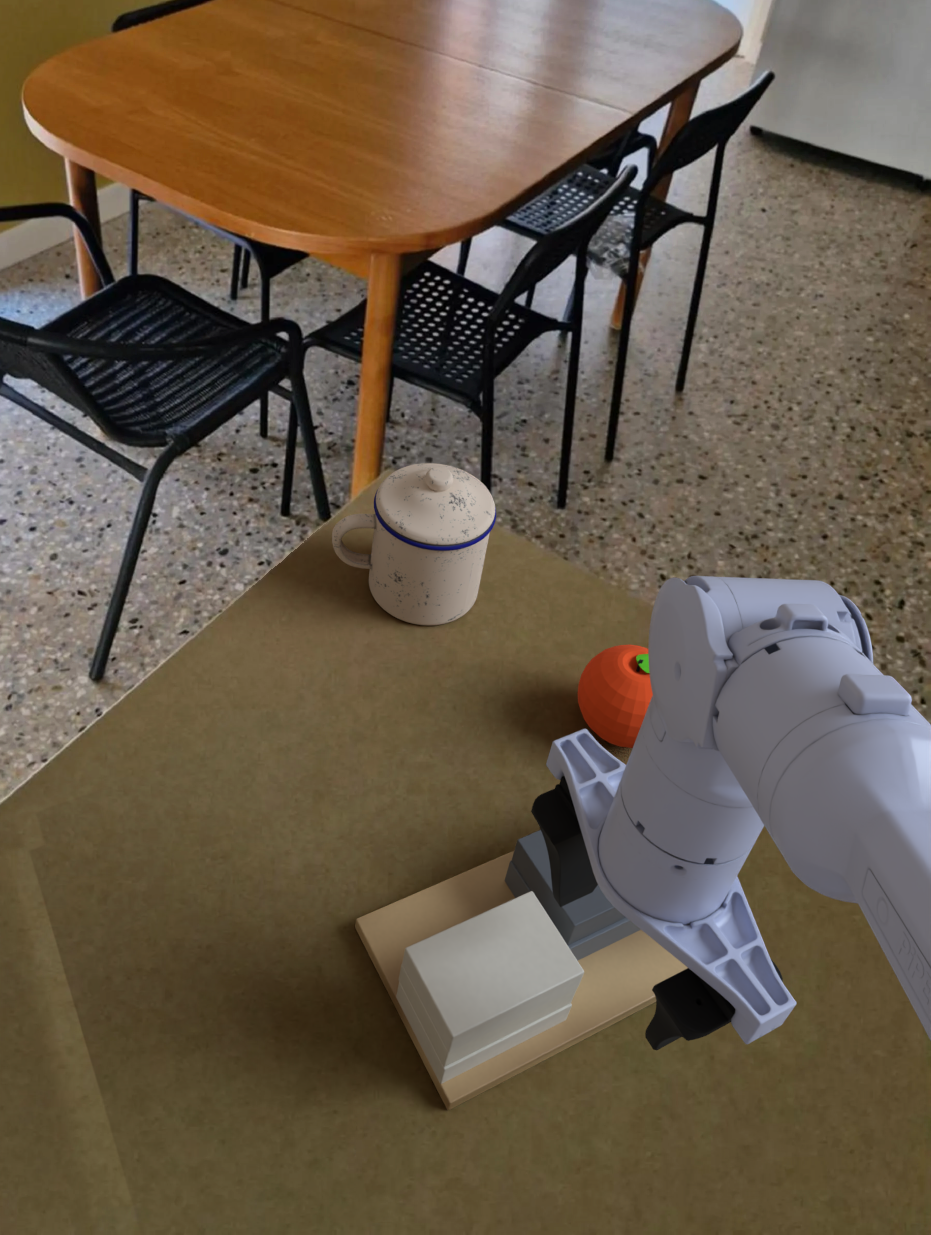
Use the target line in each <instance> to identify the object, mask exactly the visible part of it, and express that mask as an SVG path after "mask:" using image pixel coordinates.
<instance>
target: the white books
mask: <svg viewBox="0 0 931 1235" xmlns="http://www.w3.org/2000/svg"><path fill="white" fill-rule="evenodd" d="M576 990H577V989H575V990H573V991H571V992H569V993H567V994H565V995H563V996H561V997H559V998H557V999H555V1000H553V1001H551V1002H549V1003H547V1004H545V1005H543V1006H541V1007H539V1008H537V1009H535V1010H533V1011H531V1012H529V1013H527V1014H525V1015H523V1016H521V1017H519V1018H517V1019H515V1020H513V1021H511V1022H509V1023H507V1024H505V1025H503V1026H501V1027H499V1028H497V1029H495V1030H493V1031H491V1032H489V1033H487V1034H485V1035H483V1036H481V1037H479V1038H477V1039H475V1040H473V1041H471V1042H469V1043H467V1044H465V1045H463V1046H461V1047H459V1048H457V1049H455V1050H453V1051H451V1052H448V1051H447V1049H446V1047H445V1045H444V1043H443V1042H442V1040H441V1038H440V1036H439V1034H438V1032H437V1030H436V1028H435V1026H434V1024H433V1023H432V1021H431V1019H430V1017H429V1015H428V1013H427V1011H426V1009H425V1007H424V1005H423V1003H422V1002H421V1000H420V998H419V996H418V994H417V992H416V990H415V988H414V986H413V984H412V983H411V981H410V979H409V977H408V975H407V973H406V971H405V969H404V967H403V965H401V970H400V975H399V985H398V990H397V995H396V998H397V1000H398V1002H399V1004H400V1006H401V1008H402V1010H403V1012H404V1014H405V1016H406V1018H407V1020H408V1021H409V1023H410V1025H411V1027H412V1029H413V1031H414V1033H415V1035H416V1037H417V1039H418V1041H419V1043H420V1045H421V1047H422V1049H423V1051H424V1053H425V1055H426V1057H427V1059H428V1061H429V1063H430V1065H431V1067H432V1069H433V1071H434V1073H435V1074H436V1076H437V1078H438V1080H439V1082H440V1084H442V1083H444V1082H446V1081H448V1080H450V1079H452V1078H454V1077H456V1076H458V1075H460V1074H462V1073H464V1072H465V1071H467V1070H469V1069H471V1068H473V1067H475V1066H477V1065H479V1064H481V1063H483V1062H485V1061H487V1060H489V1059H491V1058H493V1057H495V1056H497V1055H499V1054H501V1053H503V1052H505V1051H506V1050H508V1049H510V1048H512V1047H514V1046H516V1045H518V1044H520V1043H522V1042H524V1041H526V1040H528V1039H530V1038H532V1037H534V1036H536V1035H538V1034H540V1033H542V1032H544V1031H546V1030H548V1029H549V1028H551V1027H553V1026H555V1025H557V1024H559V1023H561V1022H563V1021H565V1020H566V1019H567V1016H568V1014H569V1011H570V1009H571V1006H572V1004H571V1002H572V999H573V997H574V994H575V992H576Z"/></svg>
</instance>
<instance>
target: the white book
mask: <svg viewBox="0 0 931 1235" xmlns="http://www.w3.org/2000/svg"><path fill="white" fill-rule="evenodd" d="M402 965H403V967H404V969H405V971H406V973H407V975H408V977H409V979H410V981H411V983H412V984H413V986H414V988H415V990H416V992H417V994H418V996H419V998H420V1000H421V1002H422V1003H423V1005H424V1007H425V1009H426V1011H427V1013H428V1015H429V1017H430V1019H431V1021H432V1023H433V1024H434V1026H435V1028H436V1030H437V1032H438V1034H439V1036H440V1038H441V1040H442V1042H443V1043H444V1045H445V1047H446V1049H447V1051H448V1052H451V1051H453V1050H455V1049H457V1048H459V1047H461V1046H463V1045H465V1044H467V1043H469V1042H471V1041H473V1040H475V1039H477V1038H479V1037H481V1036H483V1035H485V1034H487V1033H489V1032H491V1031H493V1030H495V1029H497V1028H499V1027H501V1026H503V1025H505V1024H507V1023H509V1022H511V1021H513V1020H515V1019H517V1018H519V1017H521V1016H523V1015H525V1014H527V1013H529V1012H531V1011H533V1010H535V1009H537V1008H539V1007H541V1006H543V1005H545V1004H547V1003H549V1002H551V1001H553V1000H555V999H557V998H559V997H561V996H563V995H565V994H567V993H569V992H571V991H573V990H575V989H577V988H578V986H579V984H580V982H581V979H582V977H583V974H584V970H583V969H582V967H581V965H580V964H579V962H578V961H577V959H576V958H575V956H574V955H573V953H572V952H571V950H570V948H569V947H568V945H567V944H566V942H565V941H564V939H563V938H562V936H561V935H560V933H559V931H558V930H557V928H556V927H555V925H554V924H553V922H552V921H551V919H550V917H549V916H548V914H547V913H546V911H545V910H544V908H543V907H542V905H541V904H540V902H539V900H538V899H537V897H536V896H535V894H534V893H533V891H530V892H528V893H526V894H524V895H521V896H519V897H517V898H515V899H513V900H510V901H508V902H506V903H504V904H501V905H499V906H497V907H495V908H493V909H490V910H488V911H486V912H484V913H482V914H479V915H477V916H475V917H473V918H471V919H468V920H466V921H464V922H462V923H459V924H457V925H455V926H453V927H451V928H448V929H446V930H444V931H442V932H440V933H437V934H435V935H433V936H431V937H428V938H426V939H424V940H422V941H420V942H417V943H415V944H413V945H411V946H409V947H406V948H405V952H404V957H403V962H402Z"/></svg>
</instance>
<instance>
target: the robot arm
mask: <svg viewBox="0 0 931 1235" xmlns="http://www.w3.org/2000/svg"><path fill="white" fill-rule="evenodd" d="M647 648H648V657H649V673H650V682H651V688H652V693H653V696H652V698H651V701H650V703H649V706H648V709H647V711H646V714H645V717H644V720H643V722H642V725H641V728H640V730H639V733H638V735H637V738H636V741H635V743H634V746H633V748H631V752H630V753H629V757H628V760H627V762H626V764H625V763H624V762H623V761H621V760H620V759H618V758H617V757H616V756H615V755H613V754H612V753H611V752H609V750H607V749H606V748H605V747H604V746H602V744H600V743H599V741H598V740H596V738H595V737H594V736H593V734H592V733H591V732H590V731H589V730H588V729H587V728H582V729H579V730H577V731H575V732H572V733H570V734H567V735H564V736H562V737H560V738H557V739H554V740H553V741H552V743H551V747H550V749H549V753H548V755H547V756H548V757H547V759H546V762H545V763H546V764H545V766H546V767H547V769H548V770H549V772H550V773H551V774H552V776H553V778H555V779H556V780H558V781H559V783H557V784H556V785H554V788H552V789H550V790H548V791H546V792H543V793H541V794H539V795H537V797H535V799H534V801H533V803H532V806H531V810H530V813H531V815H532V816H533V817H534V819H535V822H536V823H537V826H538V827H539V830H541V832H542V834H543V837H544V840H545V843H546V847H547V851H548V855H549V862H550V869H551V880H552V890H553V896H554V898H555V900H556V901H557V903H558V904H559V906H560V907H562V906H564V905H566V904H569V903H571V902H573V901H575V900H577V899H579V898H581V897H584V896H586V895H588V894H590V893H592V892H593V891H594V889H595V888H596V887H597V885H599V887H600V889H601V891H602V892H603V894H604V895H605V896H606V898H607V899H608V900H609V902H610V903H611V904H612V905H613V906H614V907H615V908H616V909H617V910H618V911H619V912H620V913H621V914H623V915H624V916H625V917H626V918H628V919H629V920H630V921H631V922H632V923H634V924H635V925H636V926H637V927H639V928H640V929H641V930H642V931H644V932H645V933H646V934H647V935H648V936H650V937H651V938H652V939H653V940H655V941H656V942H657V943H658V944H660V945H661V946H662V947H663V948H664V949H666V950H667V951H668V952H669V953H671V954H672V955H673V956H674V957H676V958H677V959H678V960H679V961H680V962H682V963H683V964H684V965H685V966H687V967H688V968H687V969H685V970H683V971H681V972H679V973H677V974H675V975H674V976H672V977H670V978H668V979H666V980H664V981H662V982H660V983H658V984H656V985H655V986H654V987H653V989H652V991H653V992H654V994H655V996H656V1002H655V1011H654V1015H653V1017H652V1018H651V1021H650V1022H649V1024H648V1025H647V1027H646V1029H645V1032H644V1035H645V1036H644V1038H645V1039H646V1040H647V1042H648V1044H649V1046H650V1047H651V1048H652V1050H654V1051H659V1050H661V1049H662V1048H664V1047H666V1046H668V1045H669V1044H671V1043H673V1042H676V1041H677V1040H679V1039H681V1038H682V1039H684V1040H685V1041H687V1042H690V1041H694V1040H698V1039H701V1038H704V1037H707V1036H708V1035H710V1034H712V1033H714V1032H716V1031H718V1030H719V1029H721V1028H723V1027H725V1026H726V1025H728V1024H731V1026H732V1027H733V1029H734V1030H735V1032H736V1033H737V1034H738V1036H739V1038H740V1039H741V1040H742V1041H743V1043H744V1044H745V1045H749V1044H751V1043H752V1042H754V1041H756V1040H758V1039H760V1038H762V1037H763V1036H765V1035H767V1034H769V1033H770V1032H773V1031H774V1030H775V1029H778V1028H779V1027H781V1026H782V1025H783V1024H784V1023H785V1021H786V1020H787V1018H788V1017H789V1015H790V1014H791V1012H792V1011H793V1010H794V1008H795V1007H796V1006H797V1001H796V999H794V997H793V995H792V994H791V992H790V991H789V990H788V988H787V987H786V985H785V984H784V980H783V979H784V978H783V975H782V972H781V970H780V969H779V967H778V966H777V964H776V963H775V961H773V959H772V958H771V957H770V954H769V952H768V949H767V947H766V944H765V942H764V939H763V937H762V934H761V932H760V929H759V927H758V924H757V921H756V919H755V917H754V914H753V912H752V909H751V906H750V904H749V902H748V899H747V897H746V894H745V892H744V889H743V887H742V884H741V881H740V879H739V876H738V875H739V873H740V871H741V870H742V868H743V866H744V864H745V862H746V860H747V859H748V857H749V855H750V853H751V851H752V849H753V847H754V846H755V844H756V842H757V840H758V838H759V836H760V834H761V833H762V831H763V829H764V828H765V829H766V831H767V832H768V835H769V836H770V838H771V840H772V841H773V843H774V844H775V846H776V847H777V850H778V851H779V853H780V854H781V855H782V857H783V859H784V861H785V862H786V864H787V865H788V867H789V869H790V871H791V872H792V873H793V874H794V875H795V877H796V878H798V880H800V881H801V883H803V884H804V885H805V886H807V887H808V888H809V889H810V890H812V891H814V892H816V893H818V894H820V895H822V896H825V897H827V898H830V899H833V900H837V901H839V902H845V903H853V904H858V906H859V909H860V910H861V913H862V914H863V916H864V918H865V919H866V921H867V923H868V925H869V927H870V929H871V931H872V933H873V935H874V937H875V938H876V940H877V942H878V944H879V946H880V949H881V950H882V952H883V954H884V956H885V957H886V960H887V961H888V963H889V966H890V967H891V969H892V970H893V972H894V974H895V976H896V978H897V980H898V982H899V984H900V986H901V987H902V989H903V991H904V993H905V995H906V997H907V999H908V1001H909V1003H910V1005H911V1007H912V1009H913V1010H914V1012H915V1014H916V1016H917V1018H918V1020H919V1022H920V1024H921V1026H922V1027H923V1029H924V1031H925V1033H926V1035H927V1037H928V1039H929V1040H930V1042H931V723H930V722H929V721H928V720H927V719H926V718H925V717H924V716H923V715H922V714H921V713H920V712H919V710H918V709H916V707H914V705H913V704H912V701H913V698H912V695H911V694H910V693H909V692H908V691H907V690H906V689H905V688H904V687H903V686H902V685H901V684H900V683H899V682H898V681H897V680H896V679H895V677H893V676H892V675H888V674H887V675H885V674H884V673H882V672H881V670H879V668H878V667H876V666H875V664H874V654H873V645H872V639H871V635H870V631H869V628H868V626H867V623H866V620H865V618H864V617H863V614H862V613H861V610H860V609H859V607H858V606H857V605H856V603H854V602H853V601H852V600H851V599H850V598H848V597H847V596H844V595H841V594H839V593H838V592H837V590H836V589H835V588H834V587H832V586H831V585H830V584H829V583H828V582H825V581H822V580H818V579H791V578H765V577H764V578H761V577H740V576H739V577H738V576H737V577H733V576H711V575H691V576H688V577H687V578H686V579H684V580H683V579H682V578H680V577H673V576H672V577H669V578H668V579H667V580H665V582H663V584H662V585H661V587H660V588H659V590H658V592H657V594H656V597H655V600H654V603H653V607H652V612H651V618H650V622H649V631H648V645H647Z"/></svg>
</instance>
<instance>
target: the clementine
mask: <svg viewBox="0 0 931 1235" xmlns="http://www.w3.org/2000/svg"><path fill="white" fill-rule="evenodd" d="M652 696H653V693H652V688H651V682H650V673H649V657H648V647H644V646H641V645H636V644H619V645H614V646H611V647H608V648H605V649H602V651H600V652H599V653H597V654H595V655H594V657H592V658H590V660H589V661H588V663H587V664H586V665H585V667H584V668H583V670H582V673H581V674H580V678H579V681H578V685H577V703H578V706H579V710H580V713H581V715H582V718H583V720H584V722H585V723H586V724H587V726H588V727H589V729H590V730H591V731H592V732H594V733H595V735H596V736H598V737H599V738H601V740H603V741H606V742H607V743H609V744H611V745H614V746H616V747H619V748H620V747H621V748H627V749H628V748H629V749H633V746H634V743H635V741H636V738H637V735H638V733H639V730H640V728H641V725H642V722H643V720H644V717H645V714H646V711H647V709H648V706H649V703H650V701H651V698H652Z"/></svg>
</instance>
